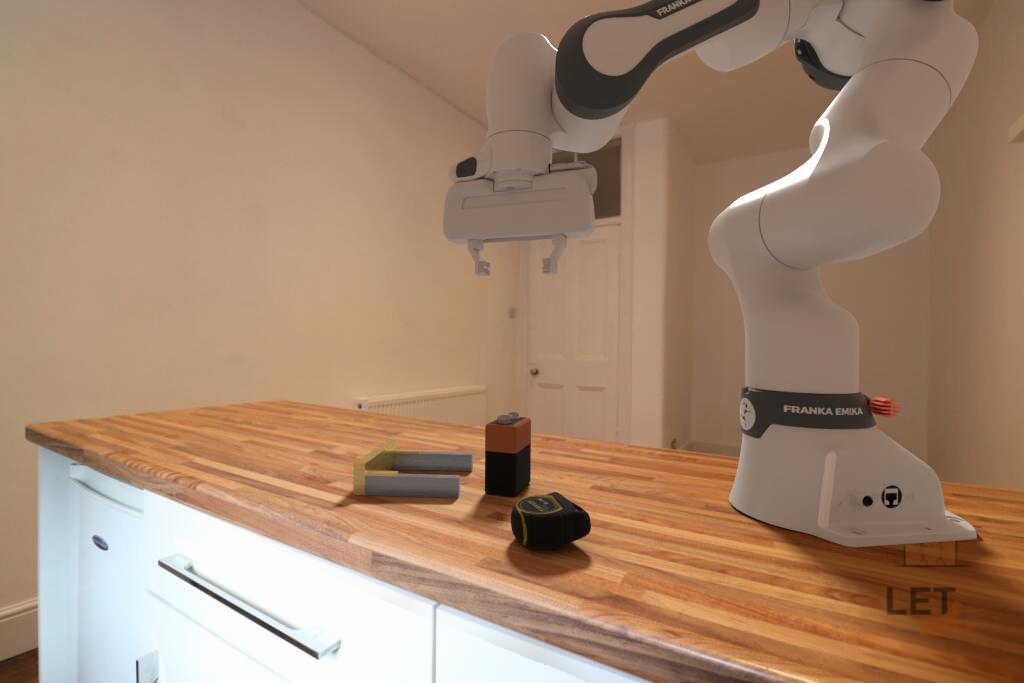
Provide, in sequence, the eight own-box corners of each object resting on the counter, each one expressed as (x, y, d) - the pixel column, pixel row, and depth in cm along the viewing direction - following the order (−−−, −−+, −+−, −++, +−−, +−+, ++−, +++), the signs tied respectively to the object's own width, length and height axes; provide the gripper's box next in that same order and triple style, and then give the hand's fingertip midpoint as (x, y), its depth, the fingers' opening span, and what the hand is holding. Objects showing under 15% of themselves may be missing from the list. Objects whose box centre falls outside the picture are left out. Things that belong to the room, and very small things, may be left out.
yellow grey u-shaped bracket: (472, 469, 68) (473, 443, 68) (458, 498, 56) (458, 466, 56) (386, 466, 69) (386, 441, 69) (353, 494, 57) (353, 463, 57)
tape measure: (596, 546, 41) (592, 505, 41) (527, 565, 39) (522, 522, 39) (565, 521, 48) (561, 486, 48) (504, 536, 46) (500, 499, 46)
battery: (483, 494, 57) (483, 417, 57) (502, 479, 64) (503, 409, 64) (515, 499, 56) (516, 419, 56) (531, 482, 62) (532, 411, 62)
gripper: (602, 168, 58) (599, 275, 58) (460, 184, 65) (458, 279, 65) (592, 148, 52) (589, 268, 52) (438, 168, 59) (435, 273, 59)
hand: (515, 274), depth 58 cm, fingers open, 8 cm apart
